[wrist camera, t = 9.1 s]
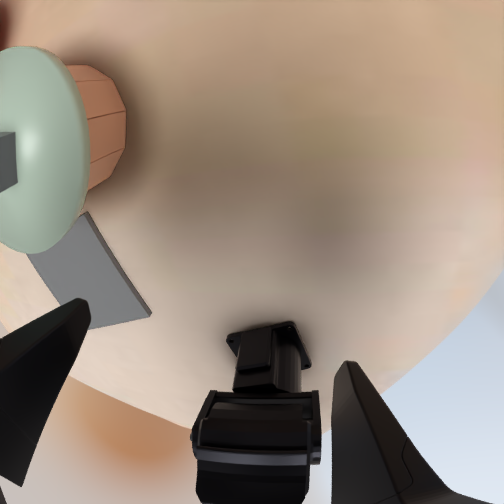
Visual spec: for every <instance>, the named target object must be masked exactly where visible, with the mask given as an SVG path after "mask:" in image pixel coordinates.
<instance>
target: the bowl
mask: <svg viewBox="0 0 504 504" xmlns="http://www.w3.org/2000/svg"><path fill="white" fill-rule="evenodd" d="M65 66H66V67H67V69H68V70H69V71H70V73H71V75H72V77H73V79H74V80H75V82H76V85H77V87H78V90H79V92H80V94H81V97H82V101H83V104H84V108H85V111H86V117H87V122H88V127H89V137H90V158H91V160H90V176H89V182H88V189H87V191H88V190H90V189H91V188H93V187H94V186H96V185H97V184H99V183H101V182H102V181H104V180H106V179H107V178H109V177H110V176H111V174H112V172H113V170H114V168H115V166H116V164H117V162H118V160H119V158H120V156H121V154H122V152H123V151H124V149H125V136H126V108H125V106H124V104H123V102H122V100H121V97H120V95H119V93H118V91H117V88H116V86H115V84H114V82H113V80H112V79H111V78H109V77H107V76H106V75H104V74H103V73H101V72H99V71H98V70H96V69H94V68H93V67H91V66H89V65H65Z"/></svg>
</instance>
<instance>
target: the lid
mask: <svg viewBox="0 0 504 504" xmlns="http://www.w3.org/2000/svg"><path fill="white" fill-rule="evenodd" d="M90 160H91V158H90V137H89V127H88V122H87V117H86V111H85V108H84V104H83V101H82V97H81V94H80V92H79V90H78V87H77V85H76V82H75V80H74V79H73V77H72V75H71V73H70V71H69V70H68V69H67V67H66V66H65V65H64V64H63V62H62V61H61V60H60V59H59V58H58V57H56V56H55V55H54V54H53V53H51V52H49V51H48V50H46V49H43V48H40V47H34V46H18V47H12V48H7V49H5V50H3V51H1V52H0V242H1V243H3V244H4V245H6V246H7V247H9V248H11V249H13V250H15V251H18V252H21V253H27V254H35V253H40V252H43V251H46V250H48V249H49V248H51V247H52V246H54V245H55V244H56V243H57V242H58V241H59V240H60V239H62V238H63V237H64V236H65V235H66V234H67V233H68V232H69V231H70V230H71V228H72V227H73V226H74V224H75V222H76V220H77V219H78V217H79V215H80V212H81V210H82V207H83V205H84V201H85V197H86V193H87V189H88V182H89V176H90Z"/></svg>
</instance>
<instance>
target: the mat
mask: <svg viewBox="0 0 504 504" xmlns="http://www.w3.org/2000/svg"><path fill="white" fill-rule="evenodd" d="M26 255H27V256H28V258H29V260H30V261H31V263H32V264H33V266H34V268H35V269H36V271H37V272H38V274H39V275H40V277H41V278H42V280H43V281H44V283H45V284H46V286H47V287H48V288H49V290H50V291H51V293H52V294H53V296H54V297H55V298H56V300H57V301H58V302H59V304H60V305H63V304H65V303H67V302H69V301H71V300H73V299H75V298H82V299H84V300H87V302H88V304H89V308H90V313H91V323H90V326H89V328H88V330H90V329H95V328H100V327H105V326H110V325H115V324H119V323H124V322H129V321H133V320H138V319H143V318H147V317H150V315H151V314H152V312H151V311H150V309H149V308H148V307H147V305H146V304H145V302H144V301H143V299H142V298H141V297H140V295H139V294H138V292H137V291H136V289H135V288H134V286H133V285H132V283H131V282H130V280H129V279H128V277H127V276H126V274H125V273H124V271H123V270H122V268H121V267H120V265H119V264H118V262H117V260H116V259H115V257H114V256H113V254H112V252H111V251H110V249H109V248H108V246H107V244H106V243H105V241H104V239H103V238H102V236H101V234H100V233H99V231H98V229H97V227H96V226H95V224H94V222H93V220H92V219H91V217H90V215H89V213H88V212H86V213H84V214H83V215H81V216H79V217H78V219H77V220H76V222H75V224H74V226H73V227H72V228H71V230H70V231H69V232H68V233H67V234H66V235H65V236H64V237H63V238H62V239H60V240H59V241H58V242H57V243H56V244H55V245H54V246H52V247H51V248H49V249H48V250H46V251H43V252H40V253H35V254H27V253H26Z"/></svg>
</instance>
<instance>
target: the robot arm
mask: <svg viewBox="0 0 504 504" xmlns="http://www.w3.org/2000/svg"><path fill="white" fill-rule="evenodd" d="M90 323H91V313H90V308H89V304H88V302H87V300H84V299H82V298H75V299H73V300H71V301H69V302H67V303H65V304H63V305H61V306H60V307H58V308H56V309H54V310H52V311H50V312H48V313H46V314H44V315H43V316H41V317H39V318H37V319H35V320H33V321H31V322H30V323H28V324H26V325H24V326H22V327H20V328H19V329H17V330H15V331H13V332H11V333H10V334H8V335H6V336H4V337H3V338H0V475H1V476H3V477H4V478H6V479H8V480H9V481H11V482H13V483H15V484H16V485H18V486H20V487H22V485H23V483H24V479H25V476H26V474H27V471H28V468H29V465H30V462H31V459H32V456H33V454H34V451H35V449H36V446H37V443H38V441H39V438H40V436H41V433H42V431H43V428H44V426H45V423H46V421H47V419H48V417H49V414H50V412H51V410H52V408H53V405H54V403H55V401H56V399H57V397H58V394H59V392H60V390H61V388H62V386H63V384H64V382H65V380H66V378H67V376H68V374H69V372H70V370H71V368H72V366H73V364H74V362H75V360H76V358H77V355H78V353H79V351H80V348H81V345H82V343H83V340H84V338H85V335H86V333H87V331H88V328H89V326H90ZM288 327H291V328H288ZM226 342H227V344H228V345H229V347H230V348H231V350H232V351H233V353H234V354H235V356H236V357H237V362H236V367H235V369H236V371H235V377H234V382H233V388H232V390H233V392H218V391H217V390H210V392H209V394H208V396H207V398H206V399H205V401H204V404H203V406H202V408H201V410H200V412H199V415H198V417H197V419H196V421H195V423H194V425H193V428H192V433H191V434H190V440H191V441H192V448H193V453H194V456H195V457H196V459H197V481H196V493H197V495H198V498H199V500H200V502H201V503H202V504H302V502H303V501H304V499H305V495H306V494H307V493H308V490H309V476H310V465H318V464H320V461H321V416H320V403H319V391H318V390H314V391H312V392H301V370H304V369H308V368H310V367H311V360H310V358H309V355H308V353H307V351H306V348H305V346H304V344H303V341H302V339H301V337H300V334H299V332H298V330H297V327H296V325H295V324H294V323H293V322H286V323H282V324H277V325H273V326H269V327H264V328H260V329H255V330H250V331H245V332H241V333H236V334H231V335H228V336H227V339H226ZM331 430H332V497H331V500H332V501H331V504H492V503H488V502H484V501H481V500H477V499H474V498H471V497H468V496H464V495H462V494H458V493H456V492H454V491H452V490H451V489H450V488H448V487H447V486H446V485H445V484H444V482H443V481H442V480H441V479H440V478H439V476H438V475H437V474H436V473H435V472H434V471H433V469H432V468H431V467H430V466H429V464H428V463H427V462H426V461H425V459H424V458H423V457H422V456H421V454H420V453H419V451H418V450H417V449H416V447H415V446H414V445H413V443H412V442H411V440H410V438H409V437H407V434H406V433H405V431H404V430H403V428H402V427H401V425H400V424H399V422H398V421H397V419H396V418H395V416H394V415H393V414H392V412H391V411H390V409H389V408H388V406H387V405H386V403H385V402H384V400H383V399H382V397H381V396H380V395H379V393H378V392H377V390H376V389H375V387H374V386H373V384H372V383H371V382H370V380H369V379H368V377H367V376H366V374H365V373H364V372H363V370H362V369H361V367H360V366H359V364H358V363H357V362H355V361H344V363H343V364H342V365H341V367H340V368H339V370H338V371H337V373H336V375H335V378H334V389H333V402H332V415H331ZM0 504H7V503H6V501H5V498H4V495H3V492H2V490H1V487H0Z"/></svg>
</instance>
